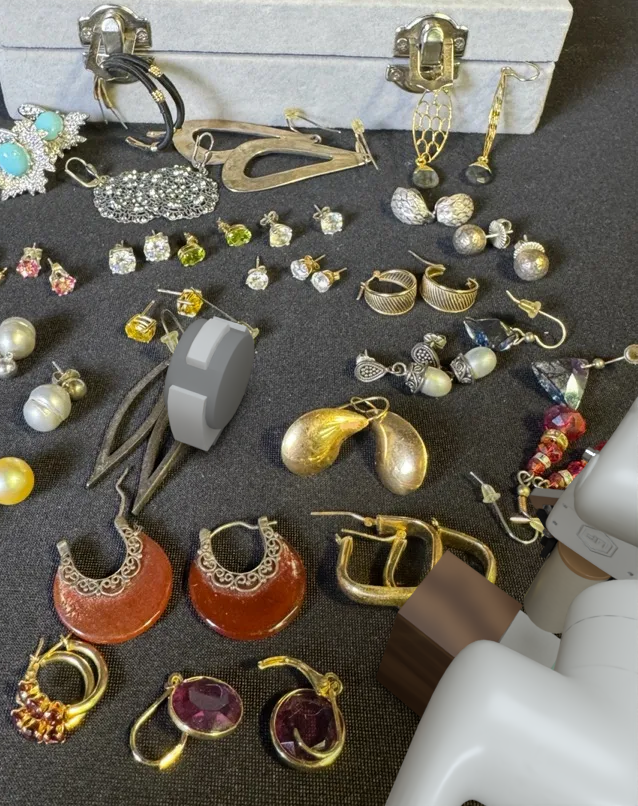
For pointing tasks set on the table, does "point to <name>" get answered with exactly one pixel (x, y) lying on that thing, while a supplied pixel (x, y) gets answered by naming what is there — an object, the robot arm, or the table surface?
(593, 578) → the canister
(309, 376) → the table surface
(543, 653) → the scale
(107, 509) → the table surface
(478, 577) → the wooden block
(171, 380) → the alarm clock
